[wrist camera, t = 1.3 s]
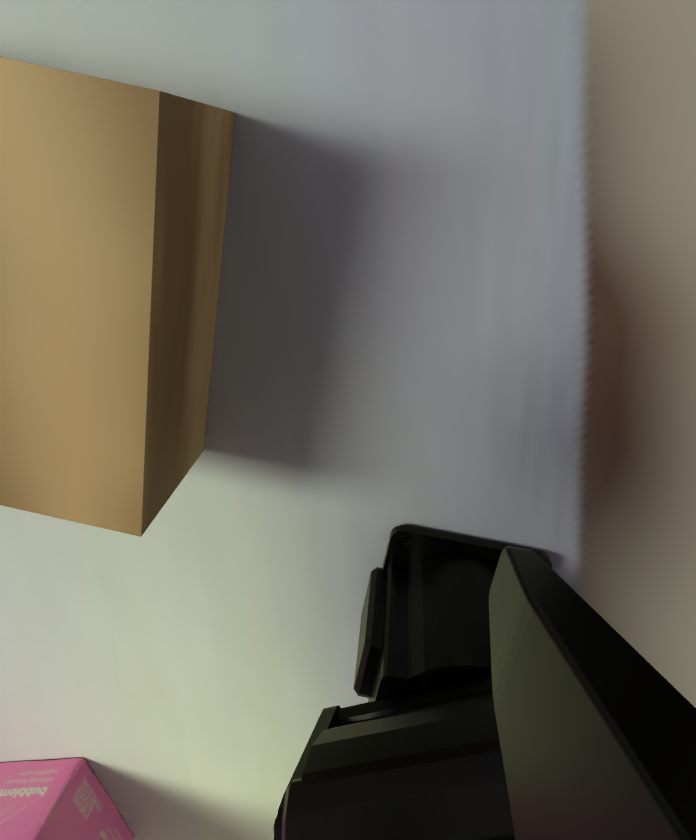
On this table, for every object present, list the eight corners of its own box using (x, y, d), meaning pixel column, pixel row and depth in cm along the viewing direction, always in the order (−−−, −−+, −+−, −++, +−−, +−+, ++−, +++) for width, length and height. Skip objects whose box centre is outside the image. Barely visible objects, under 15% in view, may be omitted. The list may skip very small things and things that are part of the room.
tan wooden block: (237, 113, 17) (159, 91, 12) (206, 446, 23) (141, 536, 17) (-135, 33, 18) (-379, -25, 12) (-83, 382, 23) (-238, 451, 17)
